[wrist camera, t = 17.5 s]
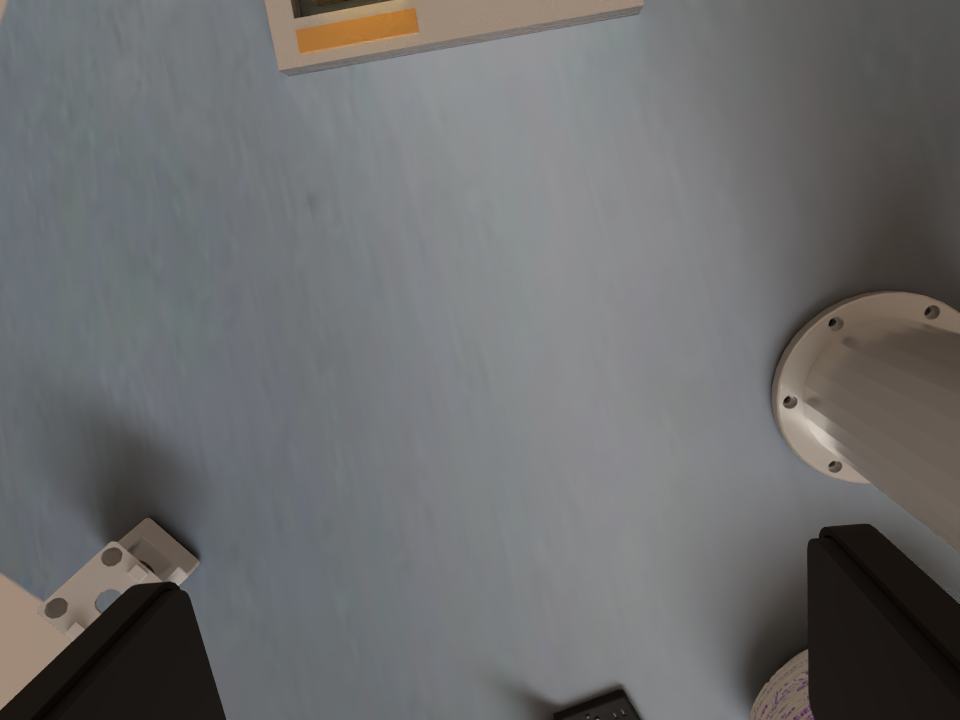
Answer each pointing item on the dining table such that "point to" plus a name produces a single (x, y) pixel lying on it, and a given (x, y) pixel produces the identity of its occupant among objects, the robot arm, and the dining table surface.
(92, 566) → the mechanical component
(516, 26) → the white flat frame
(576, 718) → the handheld gaming console
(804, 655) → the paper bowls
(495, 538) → the dining table surface
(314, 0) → the brass block
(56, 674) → the robot arm
